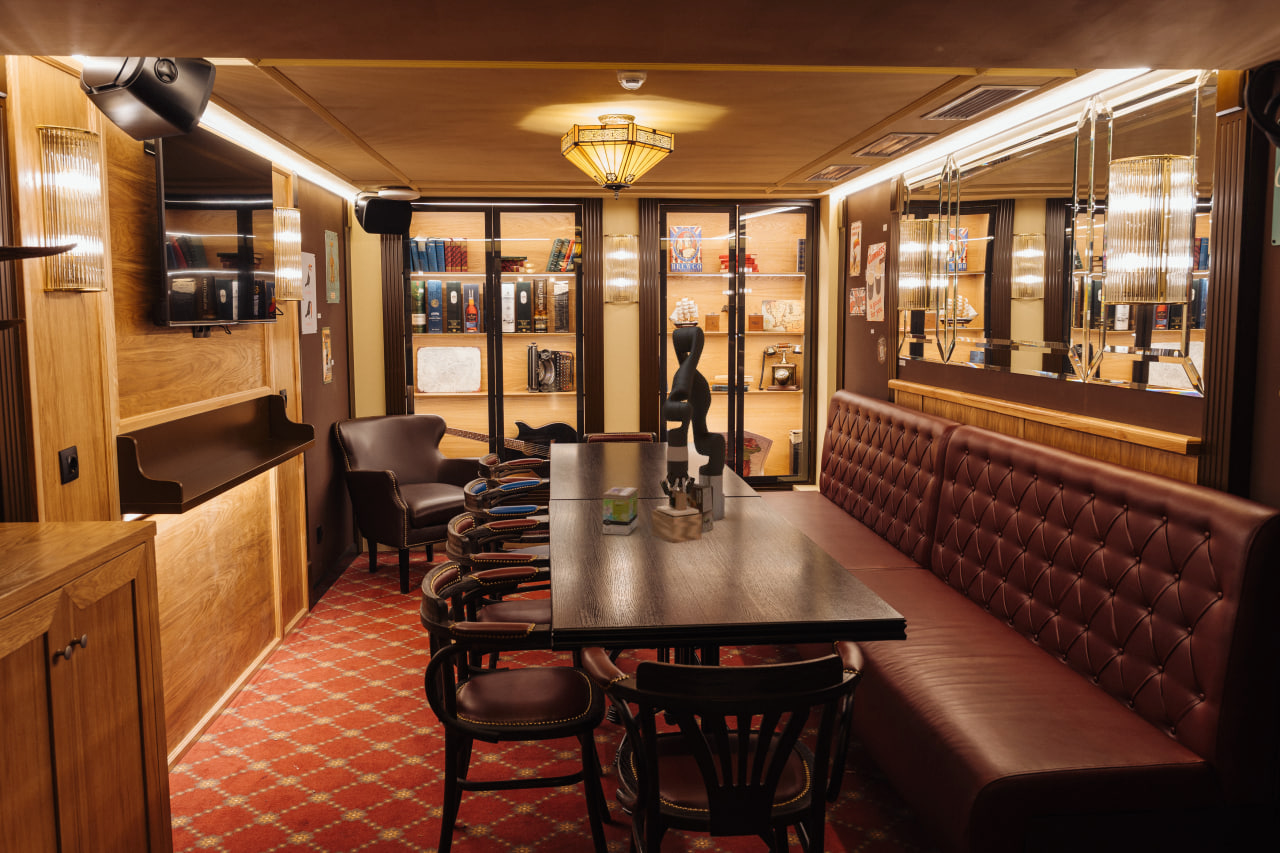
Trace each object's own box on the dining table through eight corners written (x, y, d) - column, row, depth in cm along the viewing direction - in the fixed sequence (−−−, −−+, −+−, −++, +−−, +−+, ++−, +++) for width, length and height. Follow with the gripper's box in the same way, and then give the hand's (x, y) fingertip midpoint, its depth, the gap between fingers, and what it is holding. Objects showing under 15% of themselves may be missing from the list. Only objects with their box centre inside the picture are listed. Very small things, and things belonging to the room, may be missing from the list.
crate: (680, 530, 321) (681, 507, 320) (701, 538, 309) (701, 514, 308) (652, 534, 315) (652, 510, 314) (672, 542, 303) (672, 518, 302)
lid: (680, 506, 319) (680, 487, 318) (698, 512, 308) (698, 493, 307) (656, 509, 314) (656, 490, 313) (674, 516, 303) (674, 496, 302)
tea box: (629, 535, 313) (629, 494, 311) (602, 534, 315) (601, 493, 313) (638, 525, 328) (638, 486, 326) (611, 524, 330) (611, 485, 328)
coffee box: (713, 529, 323) (714, 486, 321) (702, 532, 318) (703, 488, 316) (694, 525, 329) (694, 482, 327) (683, 528, 324) (683, 485, 322)
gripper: (688, 455, 315) (688, 502, 317) (654, 458, 308) (654, 507, 311) (700, 458, 309) (700, 506, 311) (665, 461, 302) (665, 511, 304)
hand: (677, 506), depth 311 cm, fingers closed on lid, 3 cm apart
